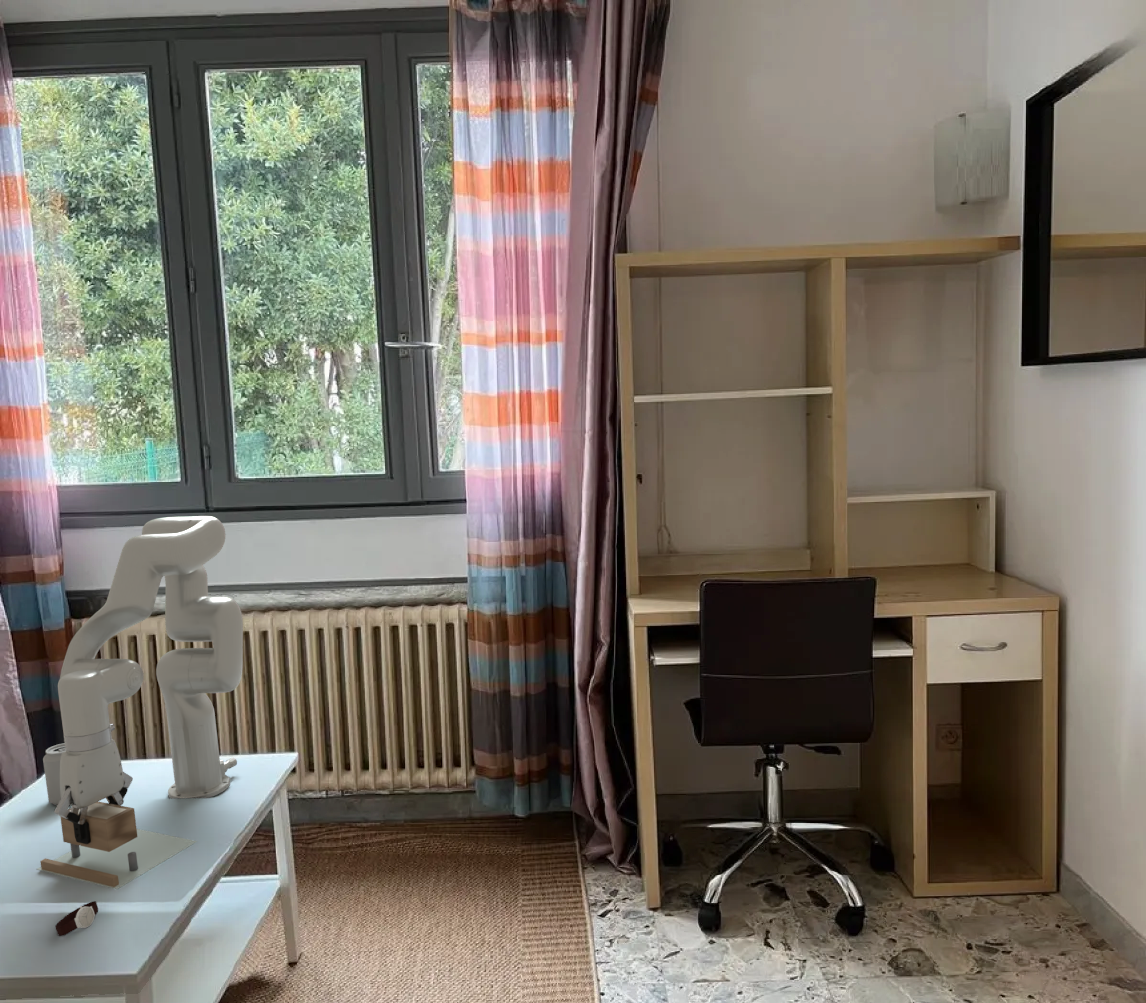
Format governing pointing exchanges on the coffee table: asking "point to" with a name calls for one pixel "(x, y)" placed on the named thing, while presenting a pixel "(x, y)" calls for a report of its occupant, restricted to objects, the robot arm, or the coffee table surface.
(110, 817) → the wooden box
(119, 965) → the coffee table surface
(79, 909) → the watch
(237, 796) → the coffee table surface
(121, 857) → the wall board
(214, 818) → the coffee table surface
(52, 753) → the can
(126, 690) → the robot arm
